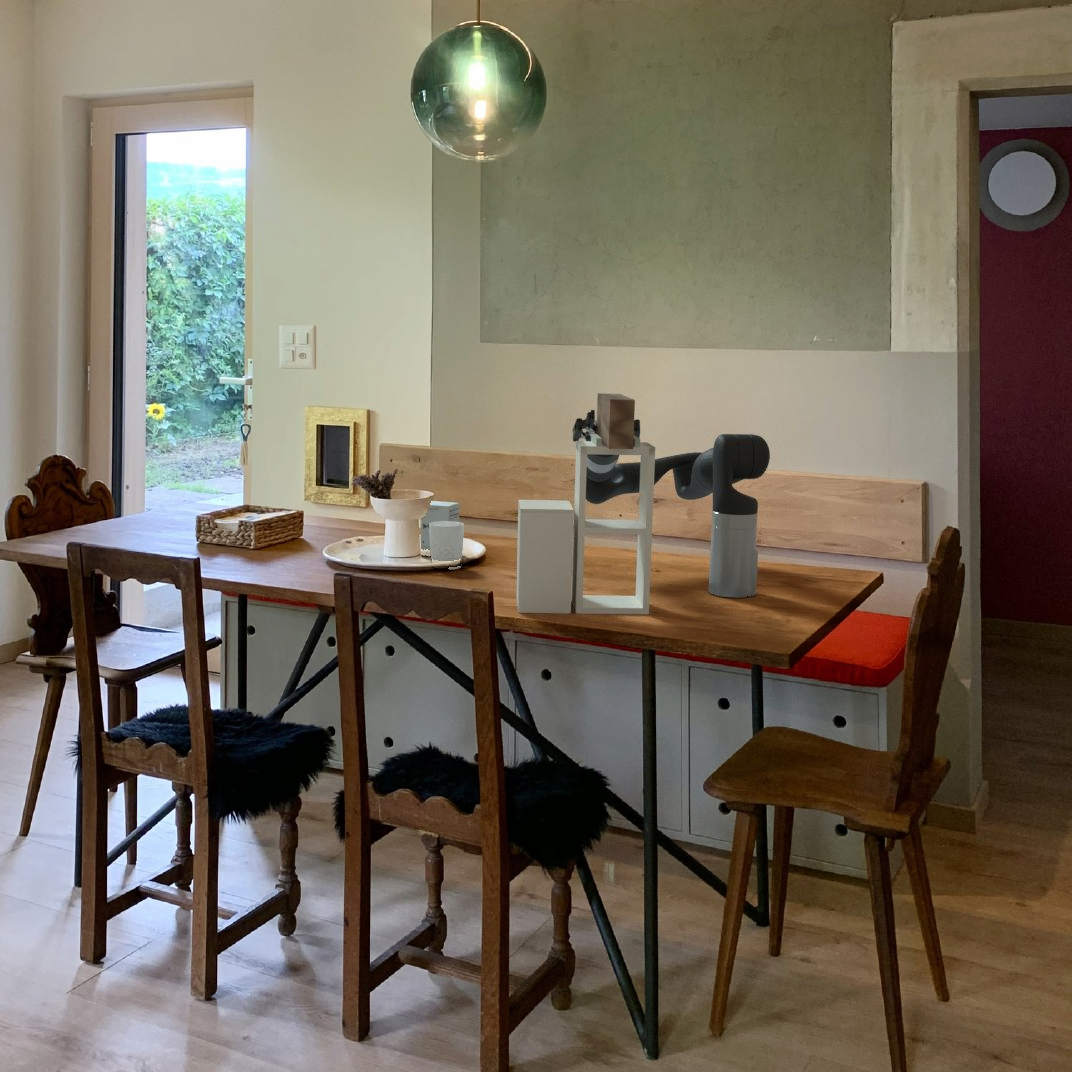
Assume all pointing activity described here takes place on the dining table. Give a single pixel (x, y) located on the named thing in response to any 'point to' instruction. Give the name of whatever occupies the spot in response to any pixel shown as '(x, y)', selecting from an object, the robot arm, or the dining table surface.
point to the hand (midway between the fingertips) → (611, 414)
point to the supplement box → (437, 518)
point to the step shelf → (580, 543)
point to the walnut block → (615, 420)
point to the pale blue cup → (446, 541)
